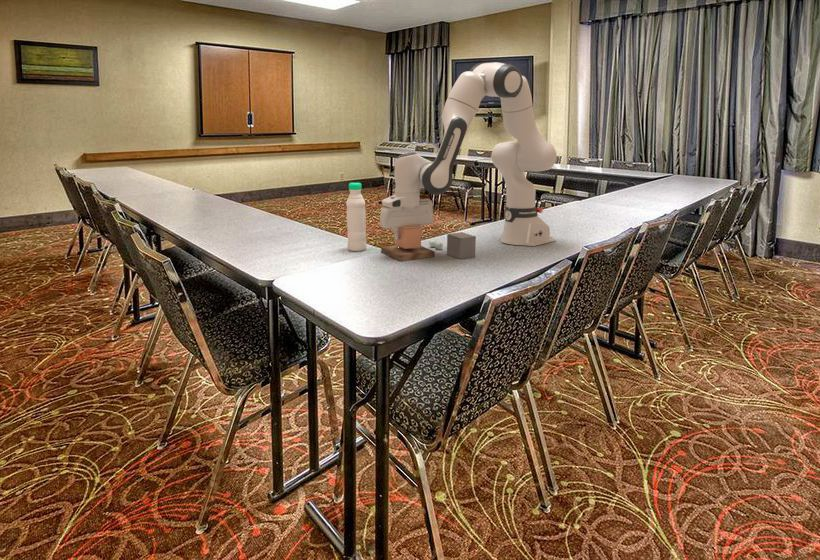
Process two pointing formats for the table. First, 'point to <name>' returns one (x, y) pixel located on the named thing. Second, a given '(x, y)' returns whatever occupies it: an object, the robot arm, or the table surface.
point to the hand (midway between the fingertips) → (407, 238)
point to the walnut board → (407, 252)
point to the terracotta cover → (409, 237)
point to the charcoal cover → (461, 245)
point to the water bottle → (356, 218)
